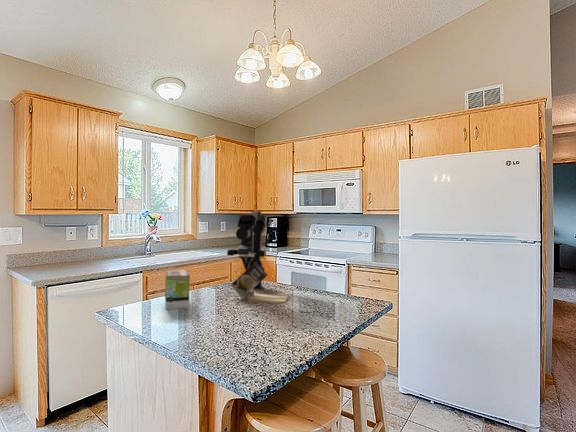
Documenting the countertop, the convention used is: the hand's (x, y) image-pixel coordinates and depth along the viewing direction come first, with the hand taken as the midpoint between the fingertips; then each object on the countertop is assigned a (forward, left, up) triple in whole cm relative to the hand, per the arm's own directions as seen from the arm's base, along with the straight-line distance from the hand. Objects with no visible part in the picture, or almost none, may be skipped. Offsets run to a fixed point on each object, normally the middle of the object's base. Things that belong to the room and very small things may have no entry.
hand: (246, 270), depth 165 cm
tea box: (+18, -28, -14) cm, 36 cm away
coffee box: (0, -4, -10) cm, 11 cm away
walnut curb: (0, +2, -14) cm, 14 cm away
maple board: (+1, +12, -14) cm, 18 cm away
